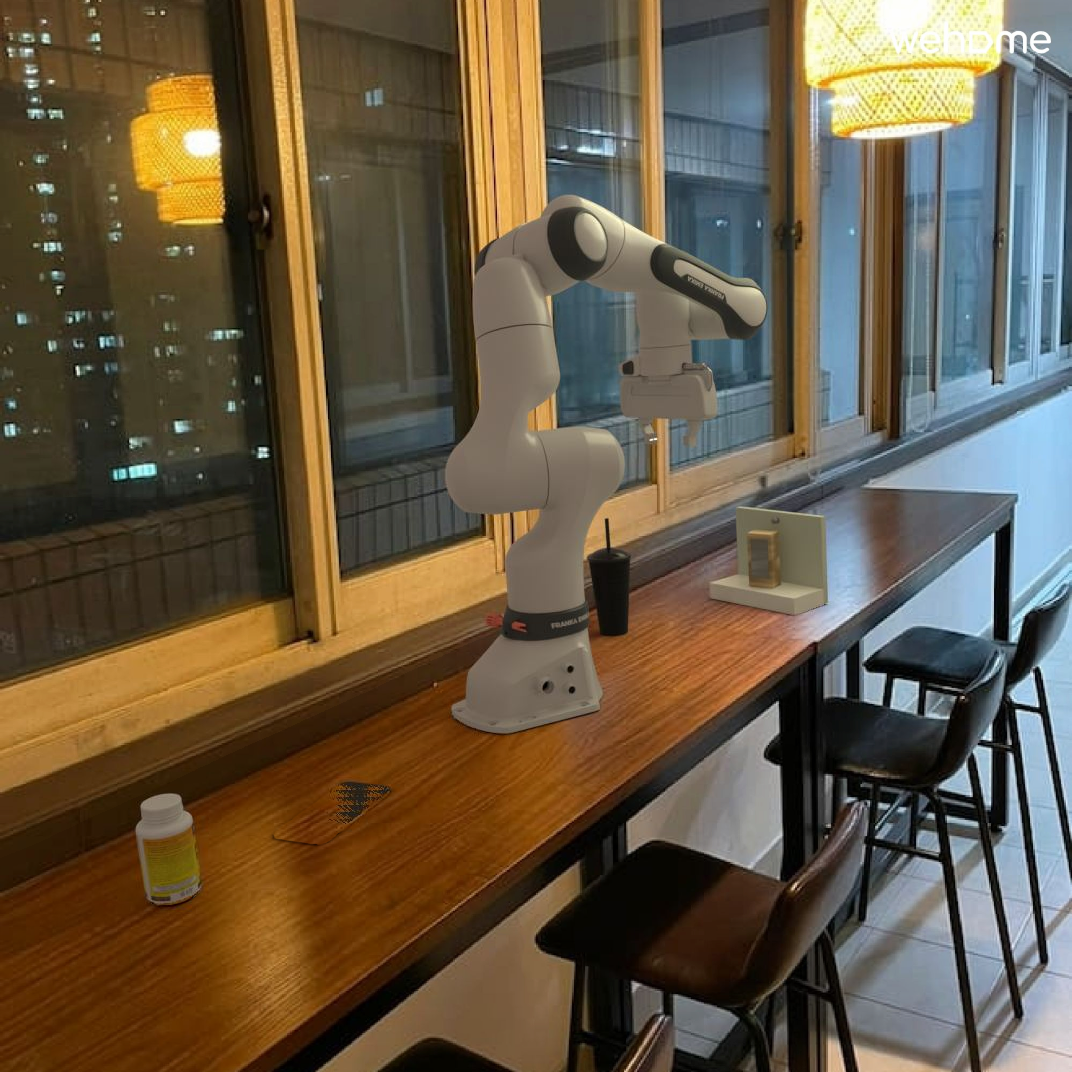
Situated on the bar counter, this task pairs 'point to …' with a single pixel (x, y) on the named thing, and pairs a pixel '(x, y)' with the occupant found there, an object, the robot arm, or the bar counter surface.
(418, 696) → the bar counter surface
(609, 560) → the drinking cup
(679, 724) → the bar counter surface
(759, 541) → the small box
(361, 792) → the phone
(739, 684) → the bar counter surface
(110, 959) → the bar counter surface
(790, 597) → the cream l-shaped bookend
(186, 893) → the supplement bottle
